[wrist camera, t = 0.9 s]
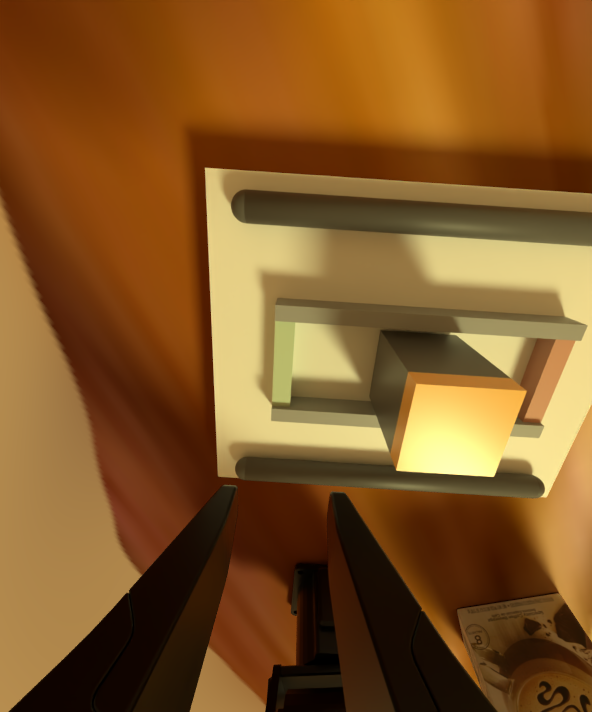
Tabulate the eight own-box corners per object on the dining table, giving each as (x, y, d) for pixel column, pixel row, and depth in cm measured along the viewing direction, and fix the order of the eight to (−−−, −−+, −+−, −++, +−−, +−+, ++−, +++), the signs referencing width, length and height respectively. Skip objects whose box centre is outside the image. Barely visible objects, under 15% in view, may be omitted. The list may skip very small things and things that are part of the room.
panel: (527, 475, 24) (562, 516, 21) (224, 456, 24) (212, 494, 21) (647, 201, 17) (729, 198, 14) (215, 172, 17) (194, 162, 13)
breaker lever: (438, 400, 19) (493, 476, 13) (369, 396, 19) (396, 470, 13) (456, 335, 17) (526, 391, 12) (380, 330, 17) (416, 383, 12)
